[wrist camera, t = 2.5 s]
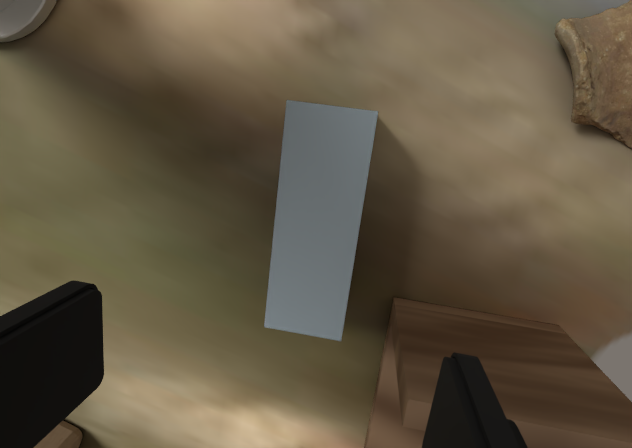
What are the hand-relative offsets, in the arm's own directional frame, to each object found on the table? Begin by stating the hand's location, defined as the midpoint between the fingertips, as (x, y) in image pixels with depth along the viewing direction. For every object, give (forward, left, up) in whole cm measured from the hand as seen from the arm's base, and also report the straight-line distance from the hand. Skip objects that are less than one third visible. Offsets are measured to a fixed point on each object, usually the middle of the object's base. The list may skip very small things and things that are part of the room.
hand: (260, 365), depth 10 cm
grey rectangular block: (0, 0, -19) cm, 19 cm away
